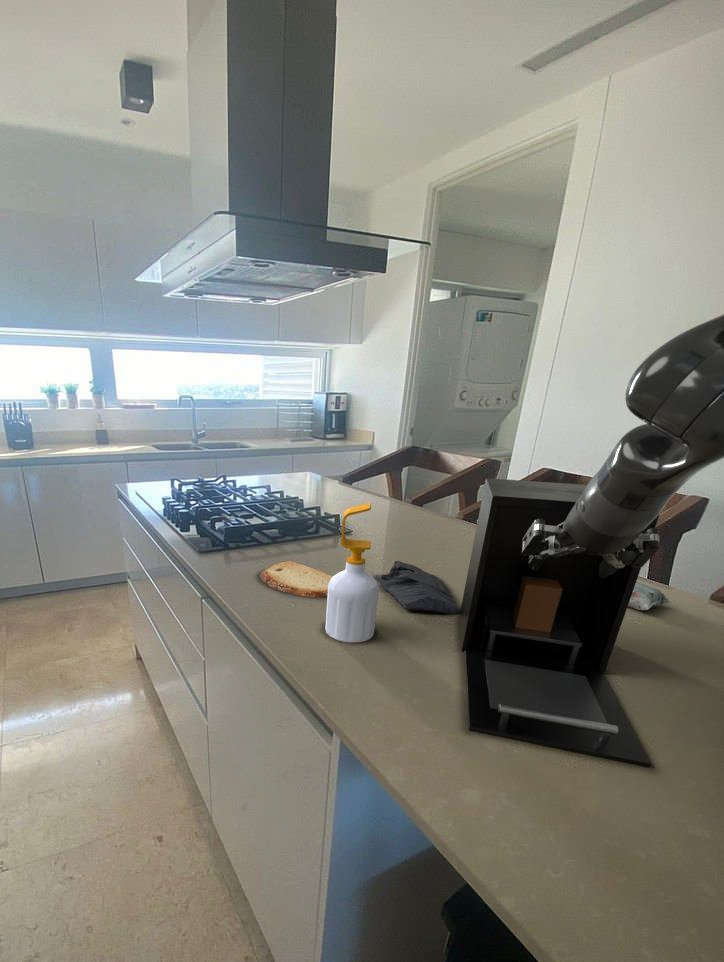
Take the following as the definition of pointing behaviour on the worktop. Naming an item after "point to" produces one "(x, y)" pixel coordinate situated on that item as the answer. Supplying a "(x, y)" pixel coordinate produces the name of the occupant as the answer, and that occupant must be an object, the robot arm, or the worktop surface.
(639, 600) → the packaged food
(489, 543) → the oven
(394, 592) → the dark grey crumpled cloth
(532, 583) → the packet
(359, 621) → the soap bottle
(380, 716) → the worktop surface
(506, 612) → the rack
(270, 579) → the slice of bread
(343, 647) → the worktop surface
